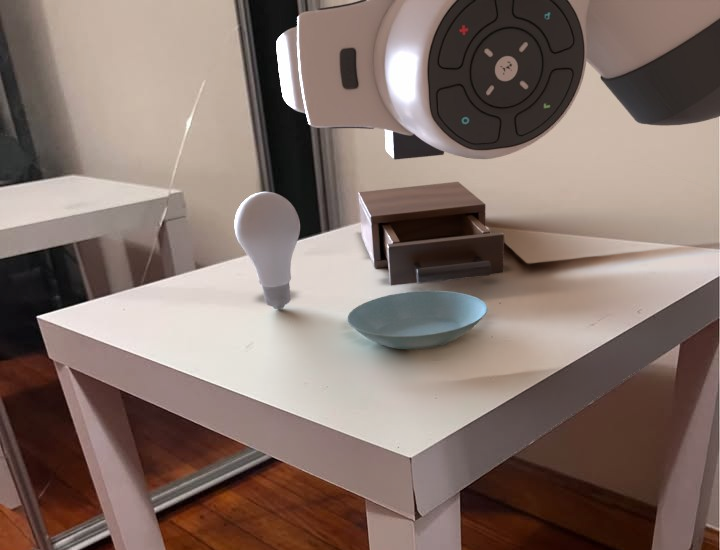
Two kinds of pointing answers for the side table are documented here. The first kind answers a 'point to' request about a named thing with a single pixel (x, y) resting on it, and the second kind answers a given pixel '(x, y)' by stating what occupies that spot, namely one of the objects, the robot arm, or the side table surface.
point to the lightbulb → (269, 242)
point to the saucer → (417, 318)
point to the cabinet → (412, 210)
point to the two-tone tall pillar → (408, 146)
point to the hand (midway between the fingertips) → (408, 54)
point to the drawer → (440, 249)
